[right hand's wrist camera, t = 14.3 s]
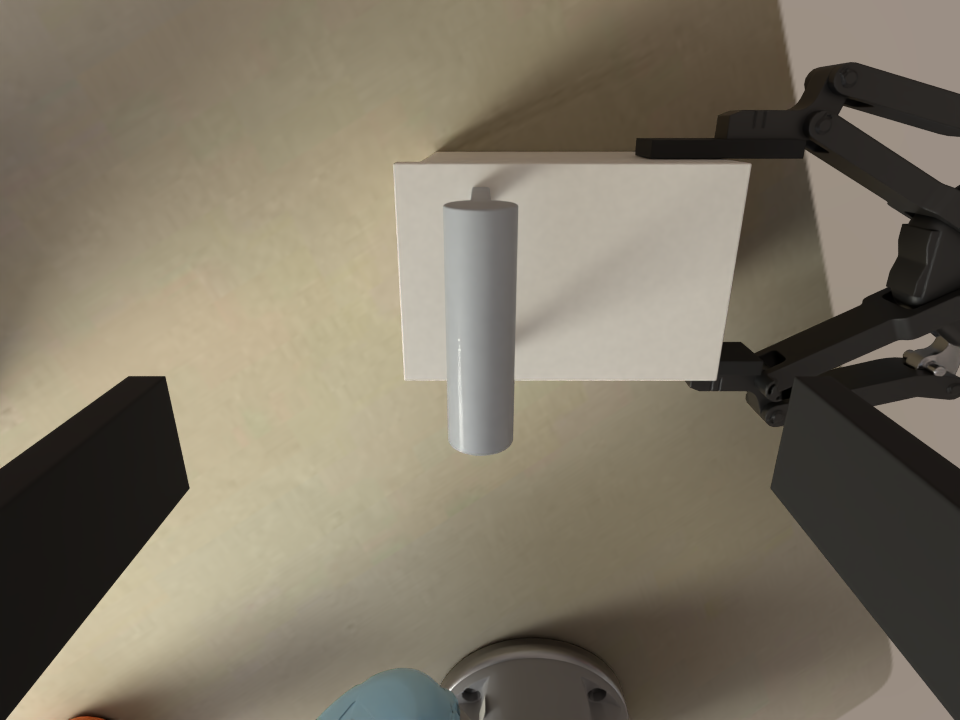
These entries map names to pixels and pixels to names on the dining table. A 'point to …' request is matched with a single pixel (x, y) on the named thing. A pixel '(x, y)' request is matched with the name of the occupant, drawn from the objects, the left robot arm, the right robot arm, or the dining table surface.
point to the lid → (561, 277)
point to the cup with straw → (86, 718)
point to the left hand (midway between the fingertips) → (632, 260)
